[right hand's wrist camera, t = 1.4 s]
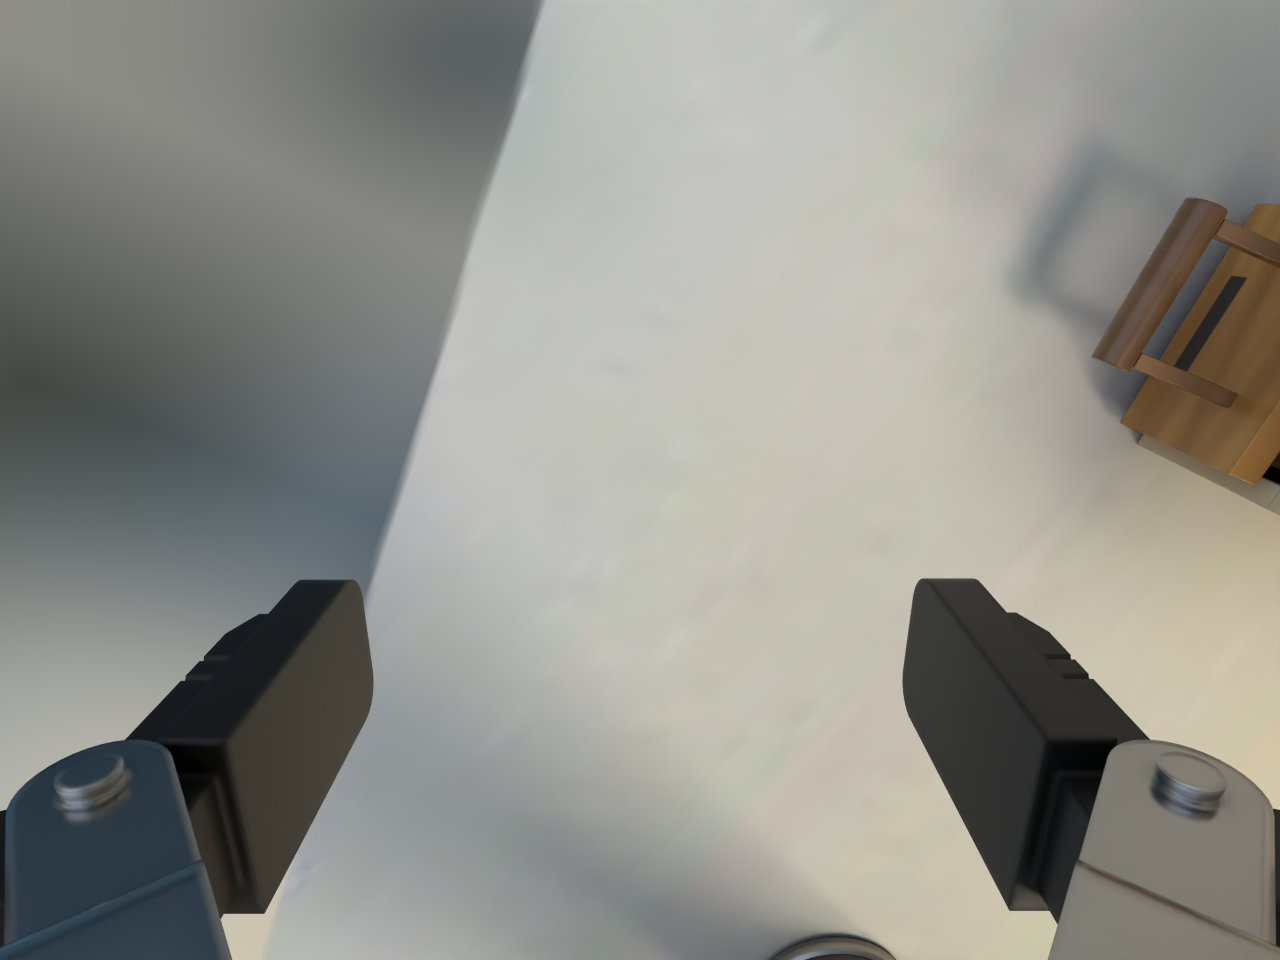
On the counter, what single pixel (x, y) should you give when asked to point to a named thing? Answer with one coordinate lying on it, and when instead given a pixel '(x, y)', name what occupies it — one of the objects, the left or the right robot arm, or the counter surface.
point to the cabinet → (1224, 476)
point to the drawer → (1208, 342)
